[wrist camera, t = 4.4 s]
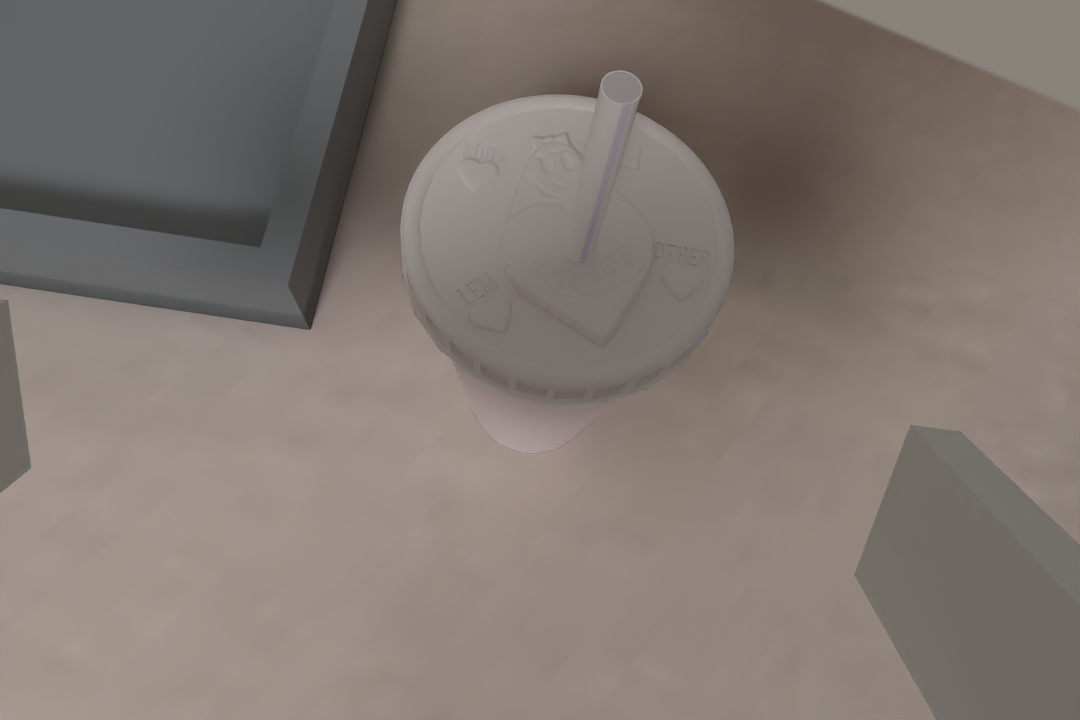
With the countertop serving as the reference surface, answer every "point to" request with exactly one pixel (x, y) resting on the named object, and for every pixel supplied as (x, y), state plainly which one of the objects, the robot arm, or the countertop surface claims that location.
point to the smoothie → (563, 257)
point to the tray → (182, 148)
